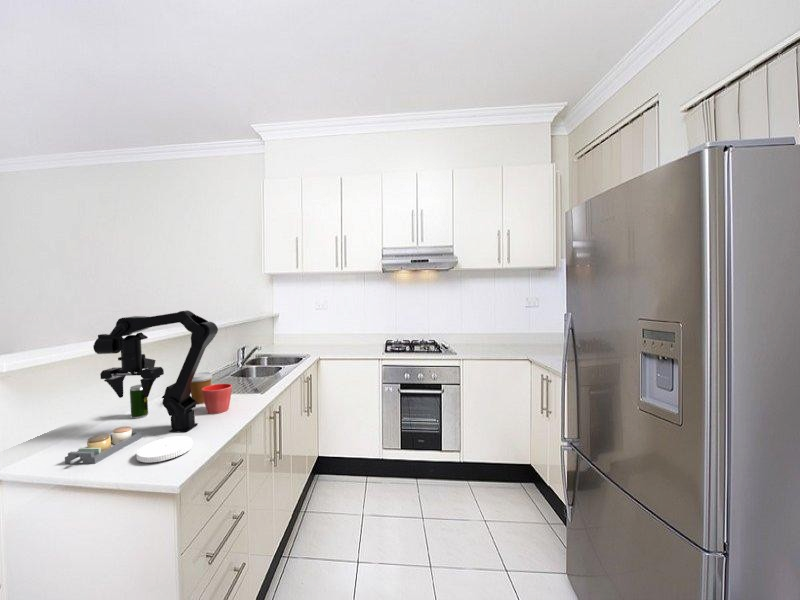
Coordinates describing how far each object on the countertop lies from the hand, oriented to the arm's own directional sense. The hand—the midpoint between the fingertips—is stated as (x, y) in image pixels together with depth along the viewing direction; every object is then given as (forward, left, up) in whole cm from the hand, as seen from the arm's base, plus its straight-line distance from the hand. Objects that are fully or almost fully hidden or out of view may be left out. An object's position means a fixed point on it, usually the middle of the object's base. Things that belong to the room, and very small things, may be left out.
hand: (133, 397), depth 123 cm
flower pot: (-18, -20, -12) cm, 30 cm away
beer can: (+10, -14, -12) cm, 21 cm away
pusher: (-2, +22, -12) cm, 25 cm away
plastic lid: (-23, +16, -12) cm, 31 cm away
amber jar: (-2, +16, -12) cm, 20 cm away
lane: (-2, +14, -12) cm, 18 cm away
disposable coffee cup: (-4, -31, -12) cm, 34 cm away
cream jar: (-2, +8, -12) cm, 15 cm away
